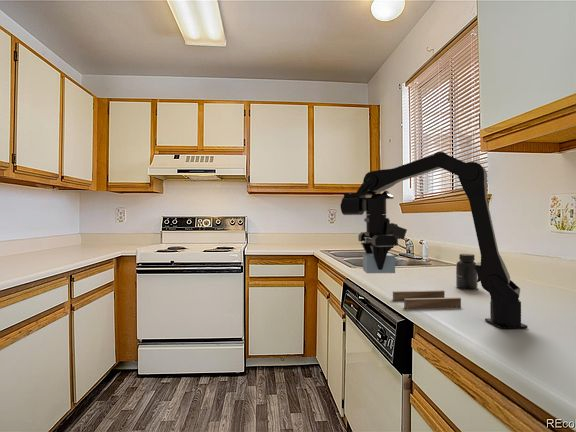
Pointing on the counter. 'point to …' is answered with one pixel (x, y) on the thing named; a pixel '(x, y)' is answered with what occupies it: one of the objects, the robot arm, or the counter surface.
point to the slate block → (371, 266)
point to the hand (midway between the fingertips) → (376, 268)
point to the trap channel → (426, 299)
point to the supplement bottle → (466, 272)
